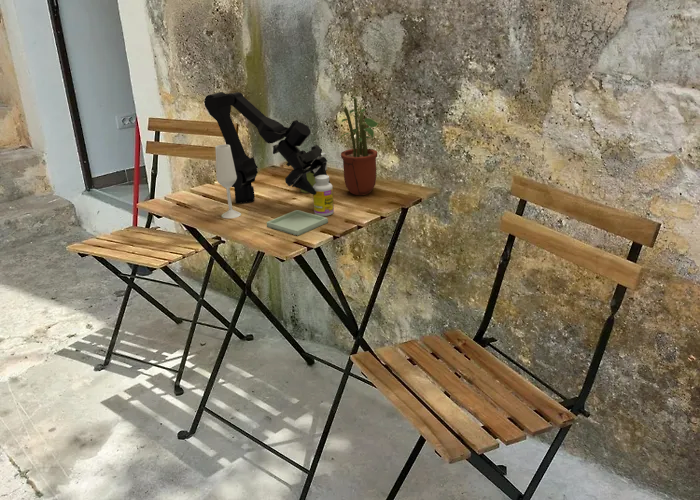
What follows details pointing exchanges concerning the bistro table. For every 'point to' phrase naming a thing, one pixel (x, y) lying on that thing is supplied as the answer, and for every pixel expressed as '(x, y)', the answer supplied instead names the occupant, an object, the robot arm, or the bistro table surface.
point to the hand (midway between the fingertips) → (323, 189)
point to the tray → (297, 222)
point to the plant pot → (310, 179)
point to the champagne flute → (226, 175)
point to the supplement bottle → (323, 196)
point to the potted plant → (359, 156)
